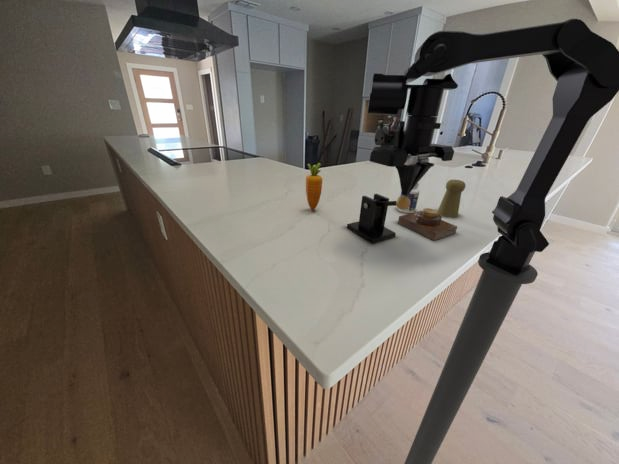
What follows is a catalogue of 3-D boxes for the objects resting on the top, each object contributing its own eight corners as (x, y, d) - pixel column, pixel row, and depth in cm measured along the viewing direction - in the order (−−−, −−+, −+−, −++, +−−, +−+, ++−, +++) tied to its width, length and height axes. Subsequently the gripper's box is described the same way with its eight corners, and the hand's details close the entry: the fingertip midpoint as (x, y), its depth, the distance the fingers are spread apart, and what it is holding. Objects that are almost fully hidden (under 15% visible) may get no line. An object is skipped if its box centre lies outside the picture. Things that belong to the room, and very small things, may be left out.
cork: (442, 209, 85) (451, 176, 81) (460, 214, 81) (471, 181, 76) (433, 213, 82) (442, 179, 77) (452, 219, 78) (463, 184, 73)
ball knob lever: (413, 208, 56) (412, 194, 55) (404, 210, 54) (403, 196, 54) (375, 209, 66) (374, 197, 66) (366, 210, 65) (365, 199, 64)
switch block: (455, 233, 69) (459, 220, 67) (433, 240, 64) (437, 226, 63) (418, 217, 78) (421, 205, 76) (397, 223, 74) (400, 210, 72)
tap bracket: (395, 237, 66) (402, 201, 61) (371, 243, 62) (377, 206, 58) (368, 222, 73) (373, 189, 69) (346, 227, 70) (350, 193, 65)
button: (438, 217, 69) (440, 211, 68) (429, 219, 67) (431, 213, 67) (427, 213, 72) (428, 207, 71) (418, 215, 70) (420, 209, 69)
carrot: (301, 210, 80) (302, 162, 74) (313, 206, 83) (315, 160, 77) (311, 214, 77) (313, 165, 70) (323, 211, 80) (326, 163, 73)
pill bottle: (412, 214, 80) (419, 184, 76) (395, 211, 82) (401, 181, 78) (416, 209, 84) (423, 181, 80) (399, 206, 86) (405, 178, 82)
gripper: (418, 115, 59) (405, 181, 66) (356, 113, 50) (348, 189, 57) (465, 117, 50) (444, 193, 57) (399, 116, 42) (384, 205, 49)
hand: (404, 194), depth 55 cm, fingers closed
